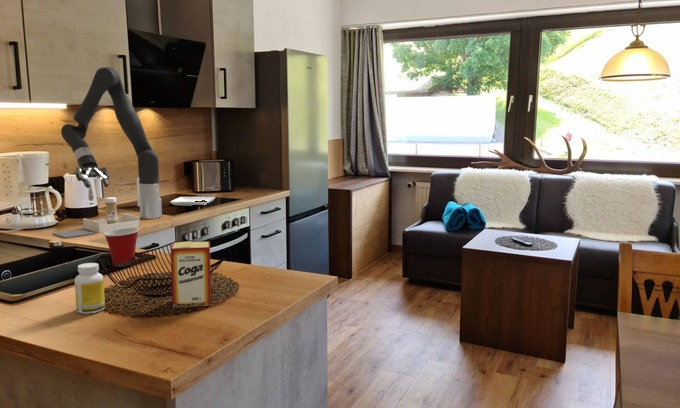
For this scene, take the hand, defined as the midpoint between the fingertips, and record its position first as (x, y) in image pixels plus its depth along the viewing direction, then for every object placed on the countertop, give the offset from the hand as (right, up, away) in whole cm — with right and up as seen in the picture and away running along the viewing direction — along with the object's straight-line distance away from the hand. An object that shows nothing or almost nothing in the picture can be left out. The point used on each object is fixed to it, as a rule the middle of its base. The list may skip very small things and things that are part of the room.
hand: (97, 186), depth 241 cm
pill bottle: (+48, -35, -109) cm, 124 cm away
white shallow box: (+8, -18, -4) cm, 21 cm away
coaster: (-1, -21, -20) cm, 29 cm away
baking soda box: (+72, -34, -103) cm, 130 cm away
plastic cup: (+39, -28, -68) cm, 83 cm away
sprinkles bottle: (+8, -19, -4) cm, 21 cm away
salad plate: (+24, -8, +69) cm, 74 cm away
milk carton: (+1, -9, +58) cm, 58 cm away
